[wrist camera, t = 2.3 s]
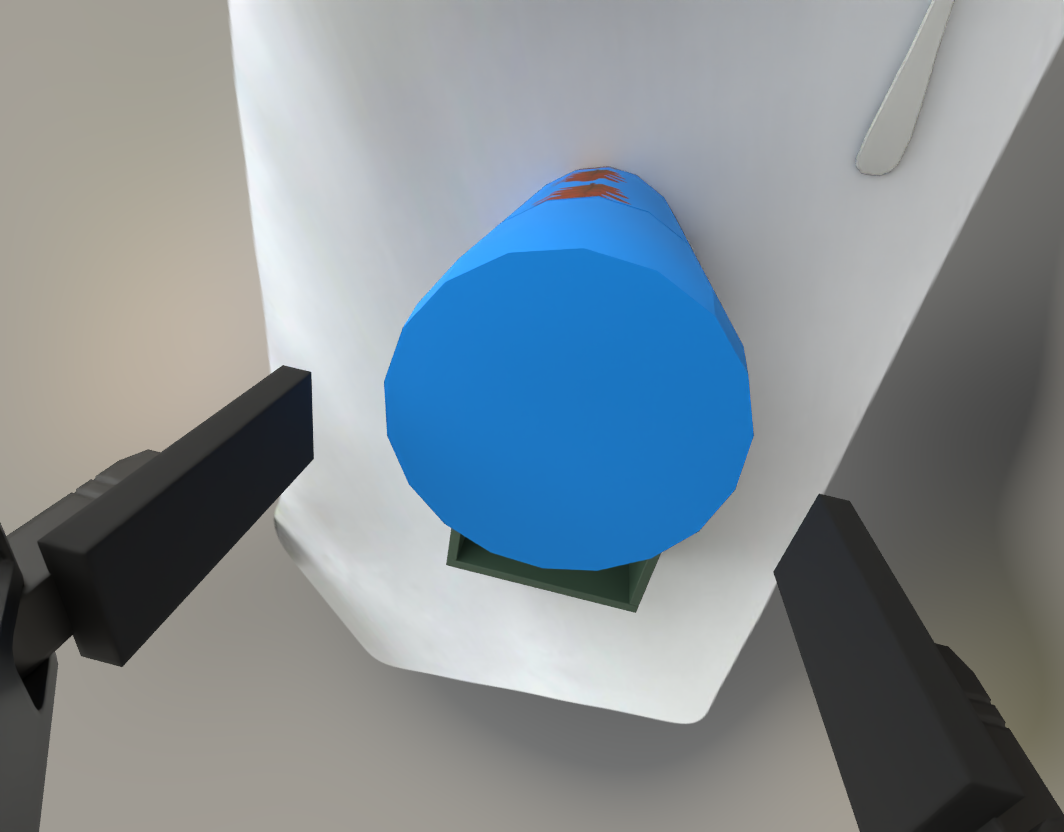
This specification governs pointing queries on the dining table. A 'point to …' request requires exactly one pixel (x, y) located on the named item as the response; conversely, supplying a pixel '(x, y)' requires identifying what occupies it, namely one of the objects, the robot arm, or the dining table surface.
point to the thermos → (573, 382)
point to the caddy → (558, 575)
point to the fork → (904, 96)
